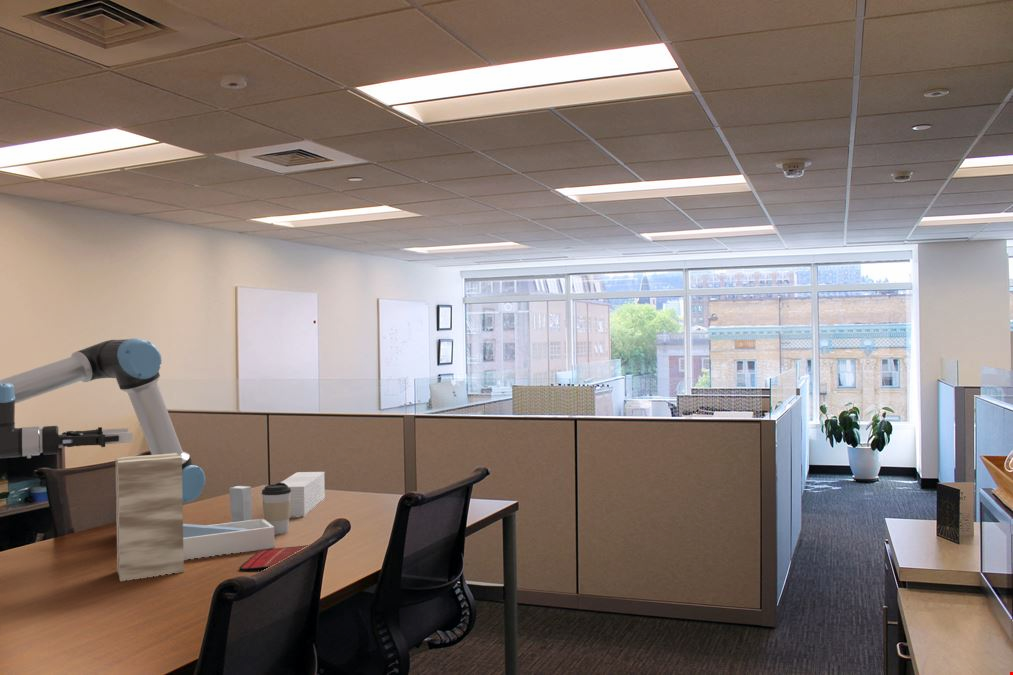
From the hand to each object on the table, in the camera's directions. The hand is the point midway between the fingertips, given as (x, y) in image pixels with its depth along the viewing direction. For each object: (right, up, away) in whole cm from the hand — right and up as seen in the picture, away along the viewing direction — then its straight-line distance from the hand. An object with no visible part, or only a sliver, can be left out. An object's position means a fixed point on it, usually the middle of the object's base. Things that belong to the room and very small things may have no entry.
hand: (130, 434), depth 222 cm
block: (+16, -31, +8) cm, 36 cm away
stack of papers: (+29, -35, +70) cm, 84 cm away
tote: (+19, -35, +10) cm, 41 cm away
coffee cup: (+32, -35, +32) cm, 57 cm away
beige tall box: (+10, -35, -11) cm, 38 cm away
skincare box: (+16, -35, +46) cm, 60 cm away
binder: (+42, -35, -2) cm, 55 cm away
